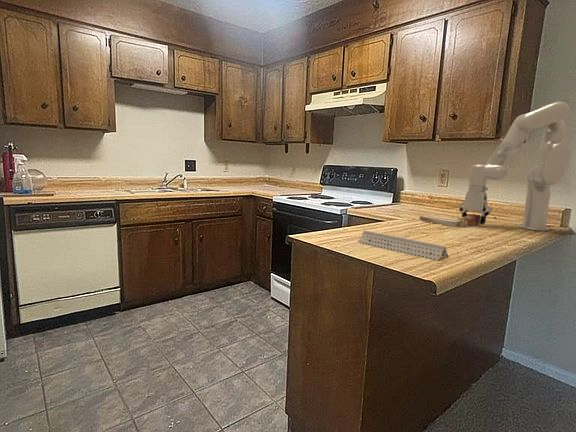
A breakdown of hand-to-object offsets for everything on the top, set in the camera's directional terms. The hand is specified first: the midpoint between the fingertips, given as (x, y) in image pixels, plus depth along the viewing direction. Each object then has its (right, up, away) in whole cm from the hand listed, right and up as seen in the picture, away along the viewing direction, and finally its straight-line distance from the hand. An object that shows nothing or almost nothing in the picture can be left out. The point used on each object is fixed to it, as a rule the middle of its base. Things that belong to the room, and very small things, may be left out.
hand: (472, 222), depth 182 cm
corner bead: (-56, -9, -57) cm, 80 cm away
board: (-14, 0, +4) cm, 15 cm away
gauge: (-4, -2, -2) cm, 5 cm away
